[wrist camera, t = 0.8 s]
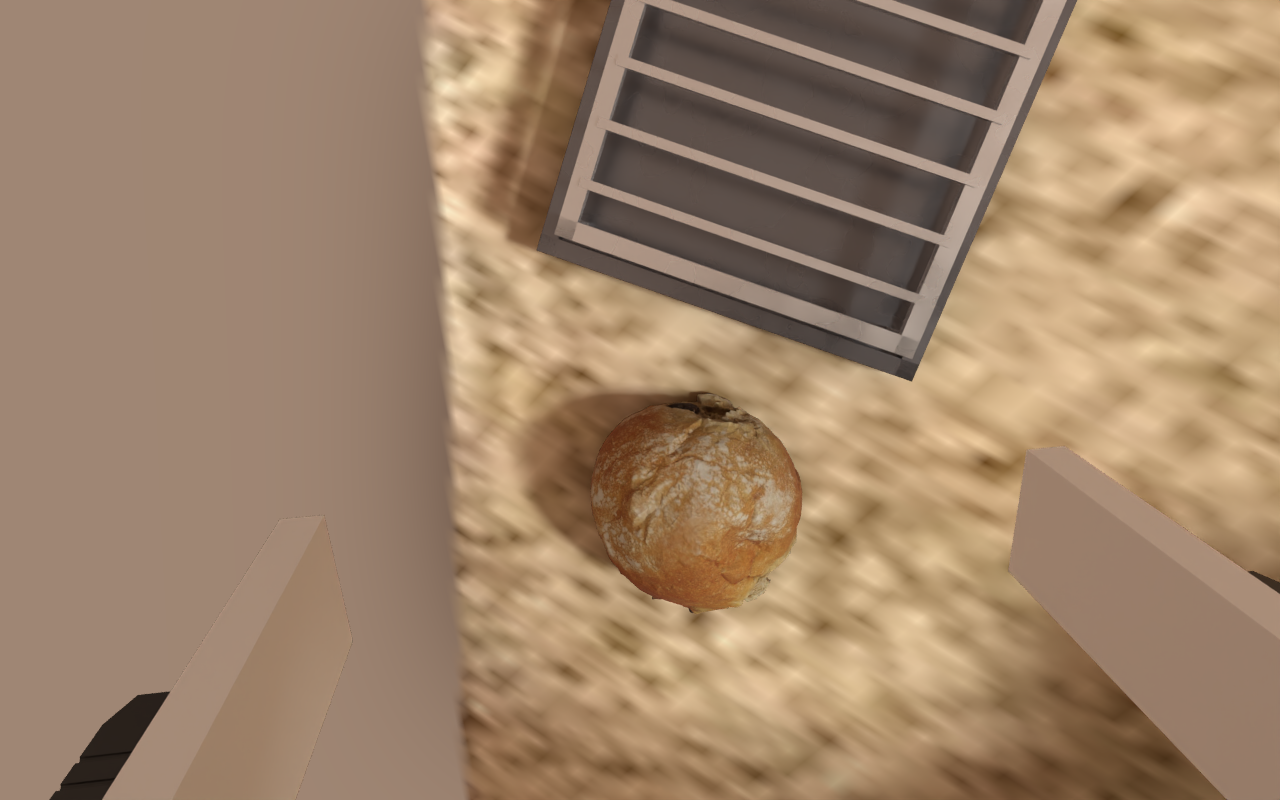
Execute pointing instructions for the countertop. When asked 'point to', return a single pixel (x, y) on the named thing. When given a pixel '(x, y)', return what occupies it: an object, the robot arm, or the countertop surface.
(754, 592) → the bread roll
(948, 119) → the cooling rack
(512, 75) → the countertop surface
